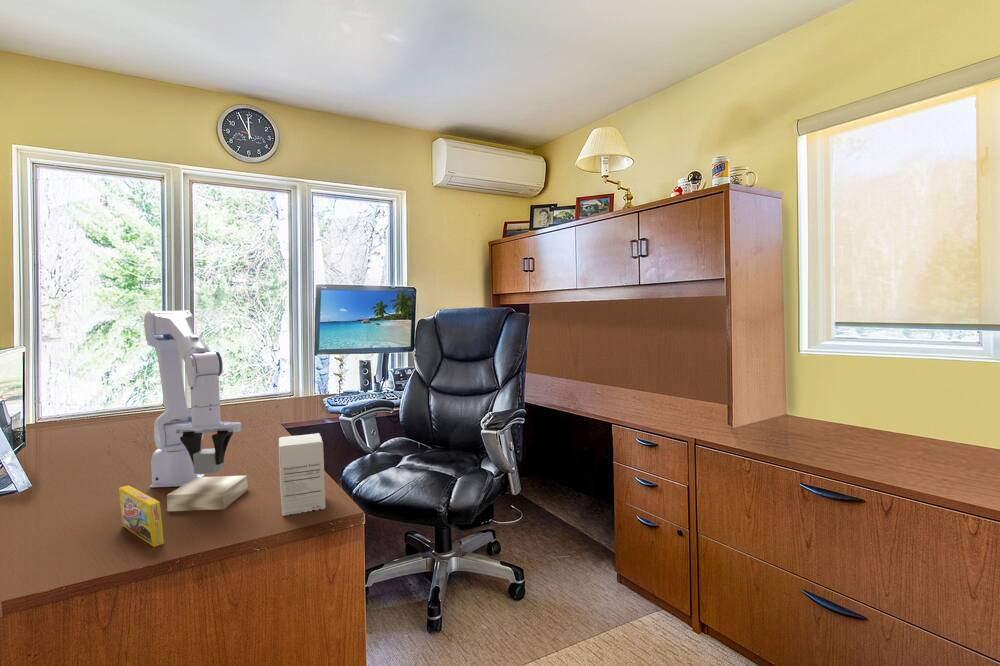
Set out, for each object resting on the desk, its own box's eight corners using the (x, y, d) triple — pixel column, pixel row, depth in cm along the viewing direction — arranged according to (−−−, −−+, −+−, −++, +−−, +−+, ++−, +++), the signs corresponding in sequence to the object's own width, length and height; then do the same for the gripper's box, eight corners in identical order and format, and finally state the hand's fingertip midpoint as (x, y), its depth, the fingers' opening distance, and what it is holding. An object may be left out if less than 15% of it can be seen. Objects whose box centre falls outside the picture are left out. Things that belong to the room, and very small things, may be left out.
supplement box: (280, 502, 116) (278, 436, 115) (322, 495, 120) (320, 432, 119) (281, 516, 108) (278, 446, 107) (326, 509, 111) (323, 441, 111)
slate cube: (194, 473, 116) (193, 454, 116) (204, 467, 120) (203, 448, 120) (214, 473, 116) (213, 453, 116) (224, 467, 121) (223, 448, 121)
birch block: (167, 513, 112) (166, 495, 112) (197, 493, 124) (196, 477, 124) (224, 510, 113) (223, 492, 113) (247, 491, 125) (247, 475, 125)
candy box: (120, 527, 104) (118, 487, 104) (132, 523, 106) (130, 484, 106) (151, 548, 94) (149, 504, 94) (164, 544, 96) (162, 500, 96)
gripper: (162, 409, 113) (165, 470, 114) (230, 407, 114) (232, 467, 114) (180, 403, 120) (183, 461, 121) (244, 401, 121) (246, 458, 121)
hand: (208, 463), depth 118 cm, fingers closed on slate cube, 4 cm apart
